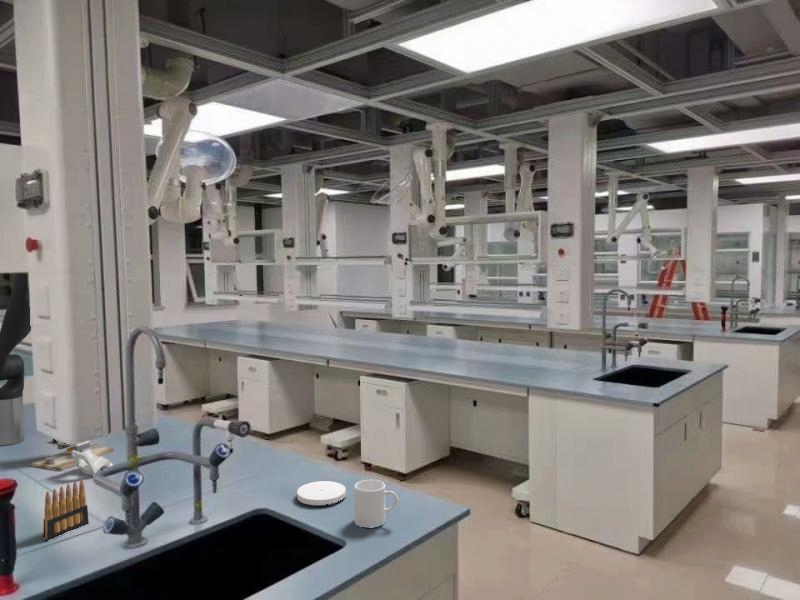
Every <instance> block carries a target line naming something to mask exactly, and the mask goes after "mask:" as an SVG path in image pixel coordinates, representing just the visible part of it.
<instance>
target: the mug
mask: <svg viewBox="0 0 800 600" xmlns="http://www.w3.org/2000/svg"><path fill="white" fill-rule="evenodd" d="M353 493H354V494H353V498H354V499H353V502H354V503H353V504H354V505H353V507H354V508H353V509H354V510H353V511H354V514H353V517H354V519H353V520H354V521H355V522H354V521H353V522H354V524H355V523H357V524H358V525H360V526H365V527H370V526H377V525H380V524H382V523H383V522H384V521H385V522H386V520H385V518H386V514H387V513H390V512H392V511H395V509H396V508H397V505H398V503H399V501H400V499H399V496H398V495H397V493H396V492H394V491H392V490H386V484H385V483H384V481H382V480H379V479H363V480H362V479H361V480H359V481H357V482H356V483H354V486H353ZM386 496H391V497H392V498H393V500H394V501H393V503H392V506H390V507H388V508H387V507H386Z"/></svg>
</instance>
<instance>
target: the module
mask: <svg viewBox="0 0 800 600" xmlns="http://www.w3.org/2000/svg"><path fill="white" fill-rule="evenodd" d="M90 441H91V440H89V441H86V442H83V443H79V444H64V443H63V442H60V441H58V440H57V443H56V444H57V450H65V449H67V448H70V447H73V450H75V451H80V450H83V449H86V448H89V447H90V443H91V442H90Z"/></svg>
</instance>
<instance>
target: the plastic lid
mask: <svg viewBox="0 0 800 600" xmlns="http://www.w3.org/2000/svg"><path fill="white" fill-rule="evenodd" d="M345 495H346V496H347V488H346V486H345V485H344V484H342V483H339V482H335V481H327V480H326V481H325V480H322V481H321V480H320V481H314V482H313V481H312V482H309V483H305V484H303V485H301V486H299V487H298V488H297V490H296V499H297V500H298V502H300V503H302V504H305V505H309V506H327V505H326V504H328V505H332V503H333V504H336V503H338V501H339V502H341V501H342V500H344V499H345V498H346V496H345ZM344 497H345V498H344ZM343 498H344V499H343ZM340 500H341V501H340Z"/></svg>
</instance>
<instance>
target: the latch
mask: <svg viewBox="0 0 800 600" xmlns="http://www.w3.org/2000/svg"><path fill="white" fill-rule="evenodd" d="M65 449H66V450H65V451H67V452H72V451H73V446H70V447H67V448H65Z"/></svg>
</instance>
